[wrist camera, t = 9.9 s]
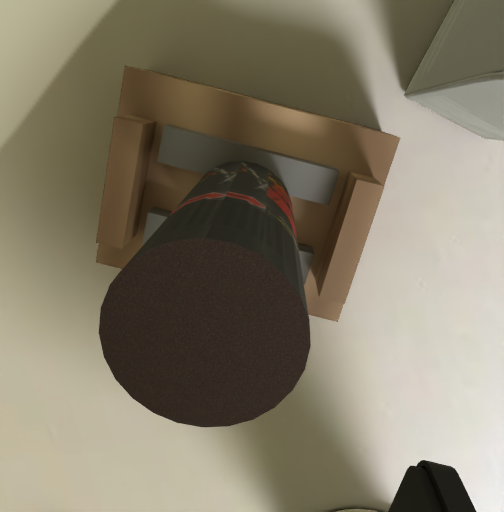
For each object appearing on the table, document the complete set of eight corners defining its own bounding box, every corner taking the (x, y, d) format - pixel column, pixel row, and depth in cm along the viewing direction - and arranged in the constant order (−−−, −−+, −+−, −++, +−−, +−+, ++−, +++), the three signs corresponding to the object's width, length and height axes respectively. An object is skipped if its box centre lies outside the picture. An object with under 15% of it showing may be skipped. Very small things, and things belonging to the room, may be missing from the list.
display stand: (381, 131, 32) (414, 142, 24) (329, 291, 36) (343, 344, 28) (147, 70, 32) (107, 62, 24) (119, 239, 35) (77, 279, 28)
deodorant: (189, 158, 27) (92, 231, 13) (296, 163, 27) (320, 243, 12) (189, 258, 29) (104, 420, 14) (288, 264, 28) (302, 434, 14)
